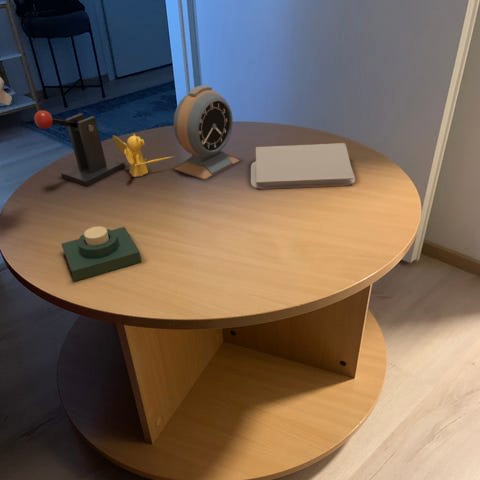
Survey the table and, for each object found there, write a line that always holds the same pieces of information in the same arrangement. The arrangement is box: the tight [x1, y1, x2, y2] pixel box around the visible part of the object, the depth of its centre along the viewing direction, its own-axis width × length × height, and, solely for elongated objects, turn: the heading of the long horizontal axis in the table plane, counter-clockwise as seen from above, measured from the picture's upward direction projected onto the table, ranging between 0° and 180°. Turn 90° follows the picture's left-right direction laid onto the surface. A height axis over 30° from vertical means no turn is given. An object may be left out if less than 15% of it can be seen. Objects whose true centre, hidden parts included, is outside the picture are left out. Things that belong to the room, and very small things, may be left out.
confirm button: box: [83, 226, 109, 246], centre depth 89 cm, size 4×4×2 cm
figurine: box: [111, 132, 175, 178], centre depth 117 cm, size 12×12×9 cm
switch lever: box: [33, 110, 82, 131], centre depth 109 cm, size 13×4×4 cm, turn 144°
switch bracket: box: [60, 112, 126, 187], centre depth 117 cm, size 12×9×13 cm
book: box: [250, 142, 356, 190], centre depth 113 cm, size 15×23×4 cm, turn 89°
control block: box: [61, 226, 143, 282], centre depth 91 cm, size 12×10×4 cm
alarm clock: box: [173, 85, 241, 181], centre depth 115 cm, size 14×10×18 cm
